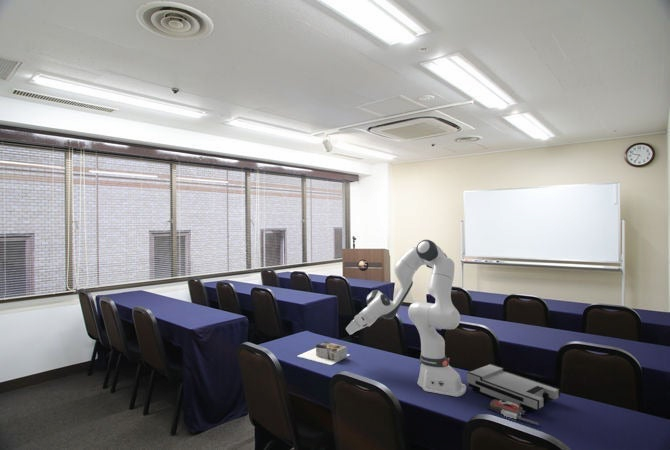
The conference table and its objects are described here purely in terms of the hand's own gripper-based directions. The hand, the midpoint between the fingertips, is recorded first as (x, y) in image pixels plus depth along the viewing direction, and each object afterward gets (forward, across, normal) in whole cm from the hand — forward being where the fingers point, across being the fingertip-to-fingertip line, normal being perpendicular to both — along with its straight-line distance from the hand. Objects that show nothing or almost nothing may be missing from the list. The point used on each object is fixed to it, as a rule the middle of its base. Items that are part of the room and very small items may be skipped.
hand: (350, 333), depth 205 cm
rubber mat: (+26, -3, -2) cm, 26 cm away
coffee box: (+14, -3, +5) cm, 15 cm away
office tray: (-45, -6, +70) cm, 83 cm away
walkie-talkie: (-46, +13, +72) cm, 86 cm away
